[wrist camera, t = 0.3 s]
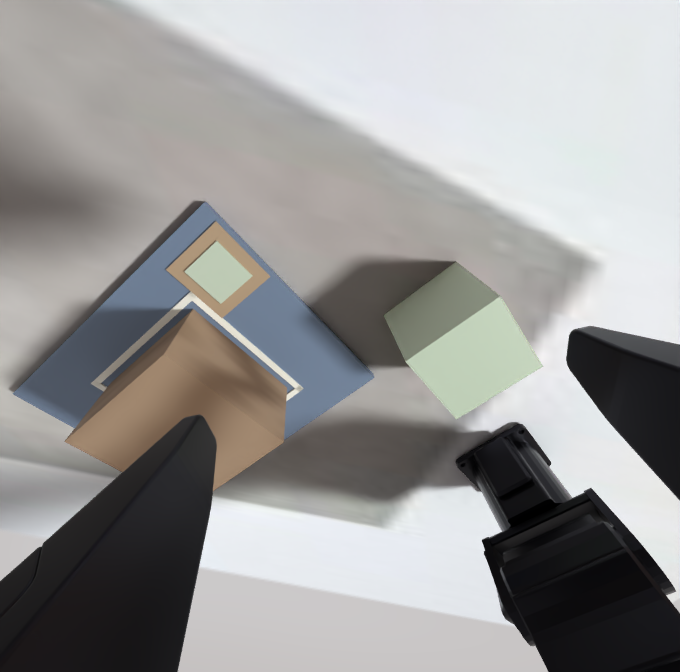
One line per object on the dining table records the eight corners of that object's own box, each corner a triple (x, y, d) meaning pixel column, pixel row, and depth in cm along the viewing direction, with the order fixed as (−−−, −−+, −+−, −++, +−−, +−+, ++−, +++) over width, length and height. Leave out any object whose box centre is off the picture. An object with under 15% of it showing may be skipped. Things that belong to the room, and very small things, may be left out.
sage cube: (494, 320, 24) (543, 366, 19) (426, 366, 25) (456, 419, 20) (455, 261, 21) (500, 296, 16) (383, 314, 22) (405, 361, 18)
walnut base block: (287, 387, 24) (283, 442, 20) (208, 445, 26) (189, 507, 21) (193, 308, 20) (164, 354, 16) (110, 383, 22) (64, 441, 18)
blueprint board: (372, 373, 25) (374, 379, 24) (202, 492, 29) (200, 500, 28) (205, 201, 18) (202, 203, 17) (17, 389, 22) (10, 395, 22)
